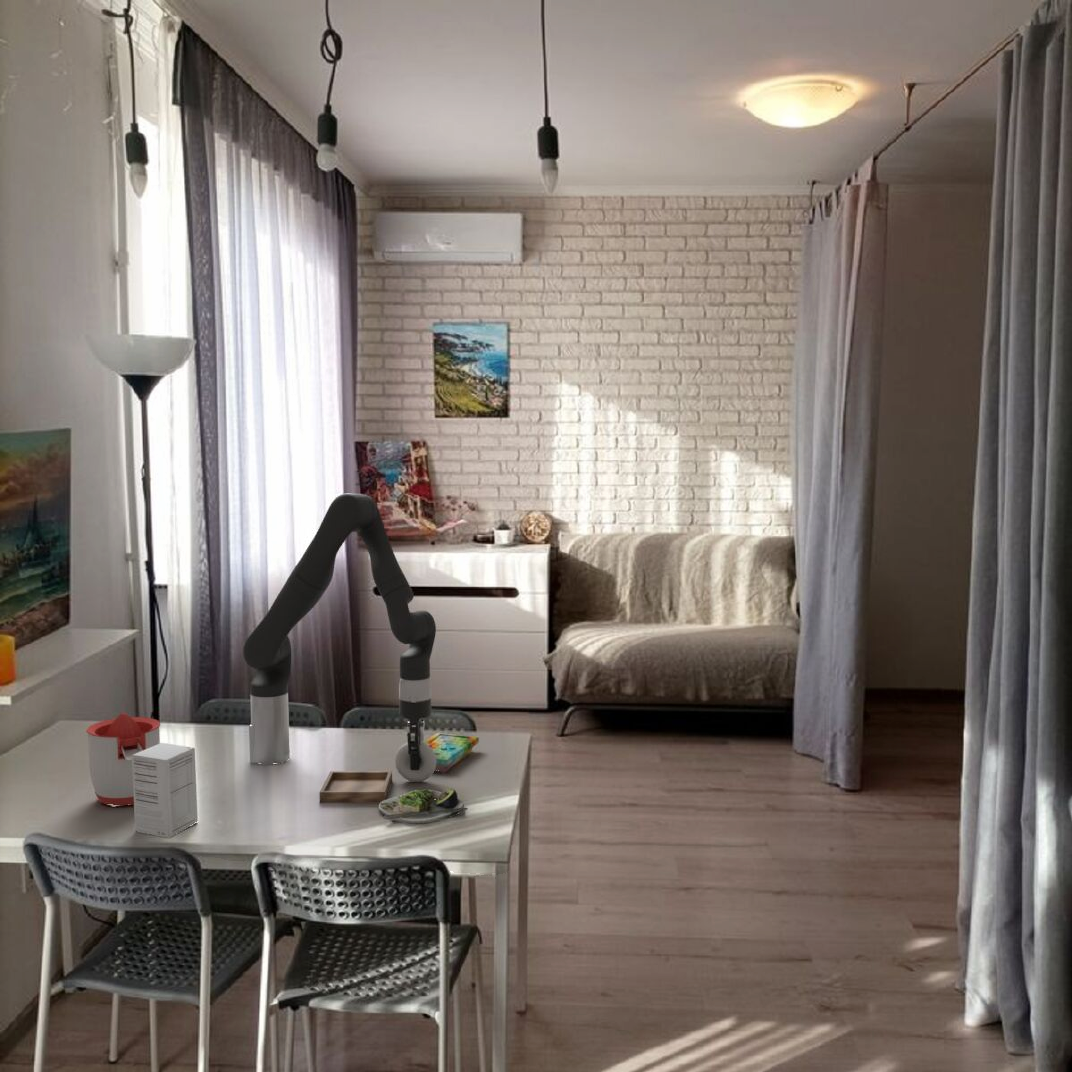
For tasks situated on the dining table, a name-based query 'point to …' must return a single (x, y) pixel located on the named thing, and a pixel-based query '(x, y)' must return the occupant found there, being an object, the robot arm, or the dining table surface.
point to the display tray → (356, 787)
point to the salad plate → (422, 806)
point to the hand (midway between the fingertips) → (415, 766)
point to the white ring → (425, 769)
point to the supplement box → (164, 789)
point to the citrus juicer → (118, 755)
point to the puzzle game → (450, 748)
